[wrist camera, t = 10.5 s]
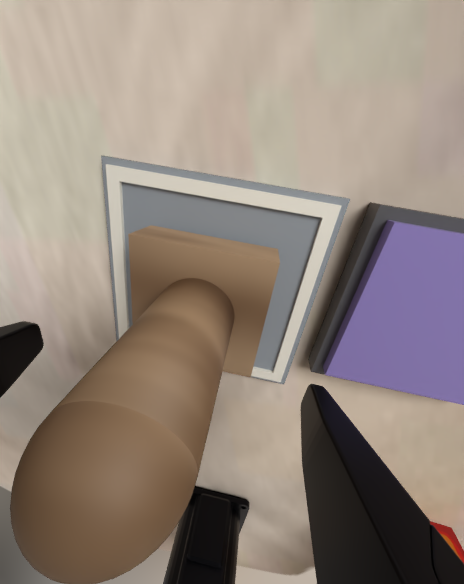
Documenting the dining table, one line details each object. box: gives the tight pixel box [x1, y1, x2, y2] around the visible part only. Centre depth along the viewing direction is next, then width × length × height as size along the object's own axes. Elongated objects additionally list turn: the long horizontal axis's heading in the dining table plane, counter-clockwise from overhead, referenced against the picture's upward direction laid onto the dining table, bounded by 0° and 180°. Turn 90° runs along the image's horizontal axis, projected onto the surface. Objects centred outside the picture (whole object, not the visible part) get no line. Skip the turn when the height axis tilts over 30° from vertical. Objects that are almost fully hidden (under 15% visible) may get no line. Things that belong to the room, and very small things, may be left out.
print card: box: [101, 156, 350, 384], centre depth 13 cm, size 11×11×1 cm
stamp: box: [10, 225, 280, 584], centre depth 8 cm, size 6×6×10 cm
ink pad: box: [308, 202, 464, 405], centre depth 11 cm, size 9×9×2 cm
